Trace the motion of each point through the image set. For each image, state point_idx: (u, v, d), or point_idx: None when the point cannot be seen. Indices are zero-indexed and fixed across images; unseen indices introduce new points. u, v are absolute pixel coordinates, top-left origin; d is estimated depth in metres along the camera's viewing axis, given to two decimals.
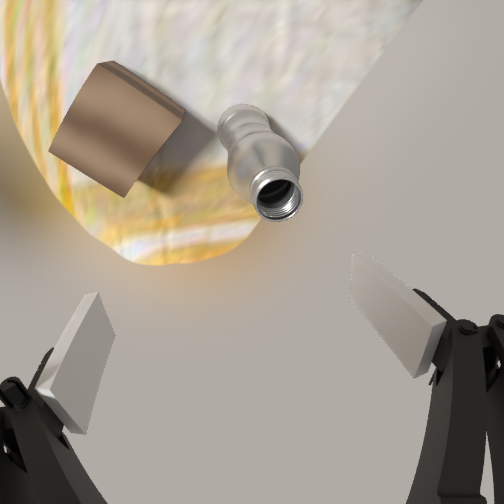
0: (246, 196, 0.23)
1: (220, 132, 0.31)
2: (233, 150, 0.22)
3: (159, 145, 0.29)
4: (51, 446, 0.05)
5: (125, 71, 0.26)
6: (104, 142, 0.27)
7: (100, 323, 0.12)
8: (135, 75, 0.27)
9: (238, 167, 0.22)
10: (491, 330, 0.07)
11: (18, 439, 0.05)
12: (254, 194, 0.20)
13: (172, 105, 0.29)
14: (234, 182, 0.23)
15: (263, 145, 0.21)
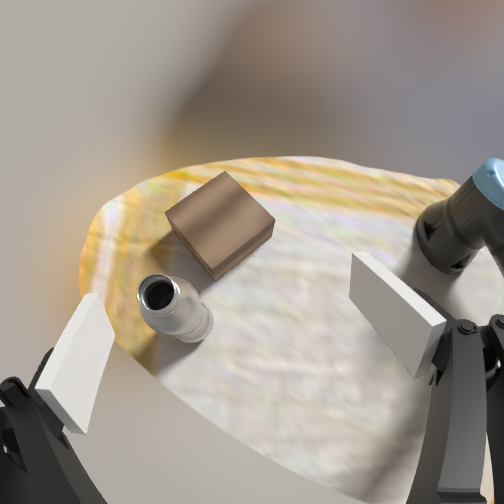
0: None
1: None
2: (190, 283, 0.30)
3: (196, 248, 0.40)
4: (51, 446, 0.05)
5: (260, 242, 0.46)
6: (213, 211, 0.43)
7: (100, 323, 0.12)
8: None
9: (179, 280, 0.28)
10: (491, 330, 0.07)
11: (18, 439, 0.05)
12: (164, 275, 0.25)
13: (223, 269, 0.43)
14: (167, 276, 0.28)
15: (193, 301, 0.28)
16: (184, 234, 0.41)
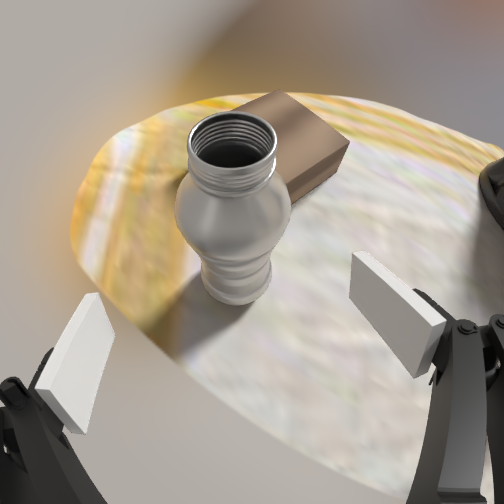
0: None
1: None
2: None
3: None
4: (51, 446, 0.05)
5: (326, 174, 0.33)
6: None
7: (100, 323, 0.12)
8: (317, 185, 0.34)
9: None
10: (491, 330, 0.07)
11: (18, 439, 0.05)
12: None
13: None
14: None
15: (285, 191, 0.15)
16: None
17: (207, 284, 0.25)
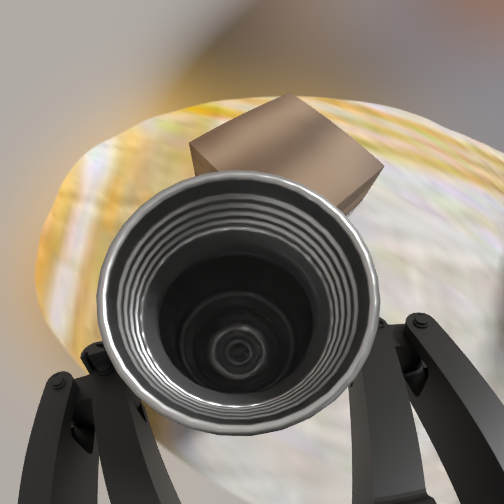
0: None
1: None
2: None
3: None
4: (133, 419, 0.06)
5: (351, 206, 0.26)
6: (280, 143, 0.22)
7: None
8: None
9: None
10: (409, 333, 0.08)
11: (94, 406, 0.06)
12: None
13: None
14: None
15: None
16: None
17: None
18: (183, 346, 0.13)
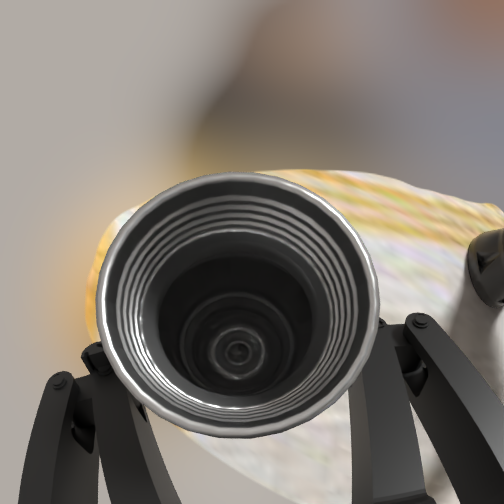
0: None
1: None
2: None
3: None
4: (133, 419, 0.06)
5: None
6: None
7: None
8: None
9: None
10: (408, 333, 0.08)
11: (95, 406, 0.06)
12: None
13: None
14: None
15: None
16: None
17: None
18: (183, 347, 0.13)
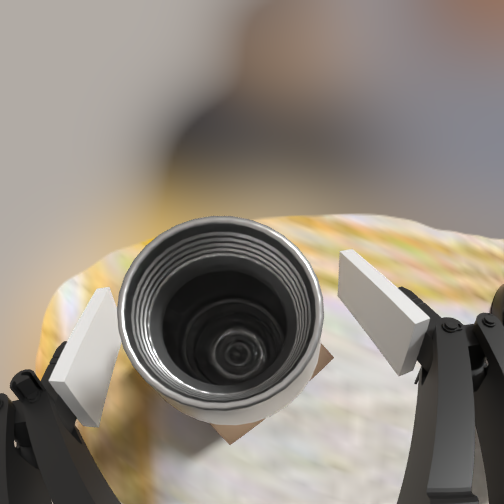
0: None
1: None
2: None
3: None
4: (64, 440, 0.05)
5: None
6: None
7: (111, 317, 0.12)
8: None
9: None
10: (478, 329, 0.07)
11: (30, 432, 0.05)
12: None
13: None
14: None
15: None
16: None
17: None
18: (184, 348, 0.14)
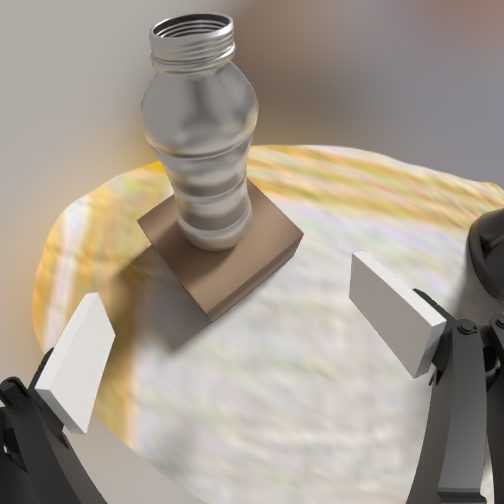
0: None
1: None
2: None
3: (182, 279, 0.25)
4: (51, 446, 0.05)
5: (278, 265, 0.31)
6: None
7: (100, 323, 0.12)
8: (268, 276, 0.32)
9: None
10: (491, 330, 0.07)
11: (18, 439, 0.05)
12: (209, 17, 0.10)
13: (223, 308, 0.28)
14: None
15: (250, 87, 0.13)
16: (164, 255, 0.26)
17: (182, 222, 0.23)
18: None
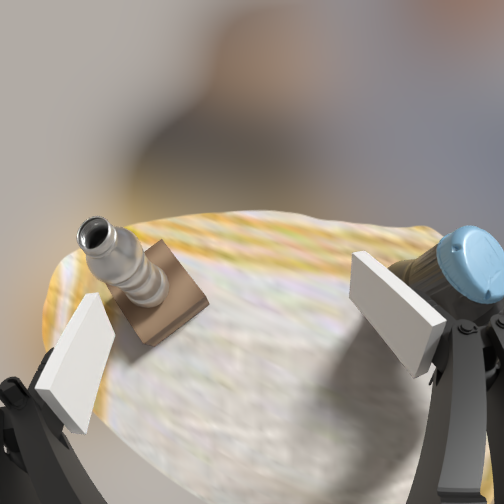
0: None
1: None
2: (134, 235, 0.29)
3: (131, 322, 0.39)
4: (51, 446, 0.05)
5: (196, 312, 0.45)
6: None
7: (100, 323, 0.12)
8: (191, 317, 0.46)
9: (122, 229, 0.27)
10: (491, 330, 0.07)
11: (18, 439, 0.05)
12: None
13: (158, 339, 0.42)
14: (112, 226, 0.28)
15: (132, 249, 0.27)
16: (120, 307, 0.40)
17: None
18: None
